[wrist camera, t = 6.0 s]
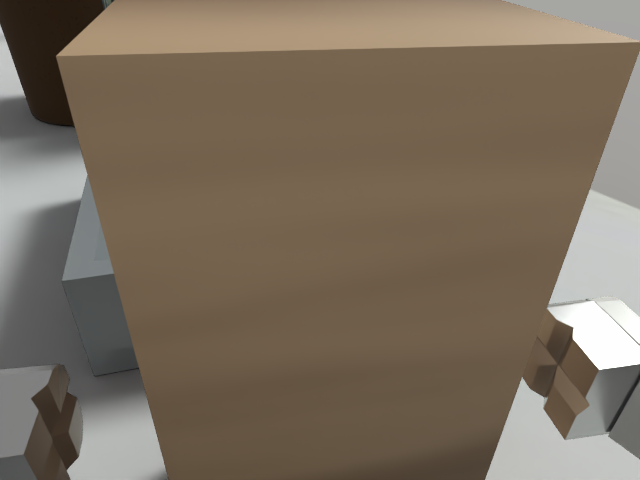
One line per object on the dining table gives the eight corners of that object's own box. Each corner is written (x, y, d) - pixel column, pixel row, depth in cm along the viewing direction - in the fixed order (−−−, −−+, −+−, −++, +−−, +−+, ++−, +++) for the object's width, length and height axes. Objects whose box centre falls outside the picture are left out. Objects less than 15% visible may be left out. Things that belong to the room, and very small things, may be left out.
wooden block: (440, 602, 11) (641, 41, 4) (215, 654, 10) (56, 55, 4) (377, 417, 15) (435, -20, 9) (212, 443, 14) (135, -20, 8)
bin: (117, 190, 27) (100, 120, 25) (350, 165, 30) (353, 101, 28) (94, 376, 16) (61, 281, 14) (460, 306, 20) (480, 220, 17)
